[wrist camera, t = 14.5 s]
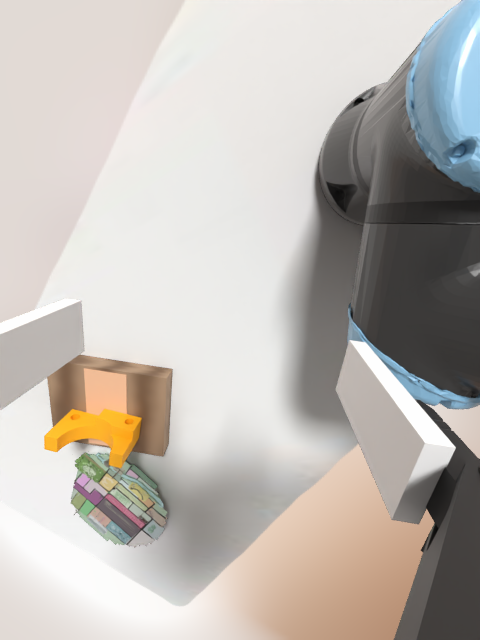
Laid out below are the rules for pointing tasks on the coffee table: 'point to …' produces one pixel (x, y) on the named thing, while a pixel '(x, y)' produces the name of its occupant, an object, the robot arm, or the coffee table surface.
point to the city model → (118, 501)
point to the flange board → (115, 396)
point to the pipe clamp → (97, 432)
